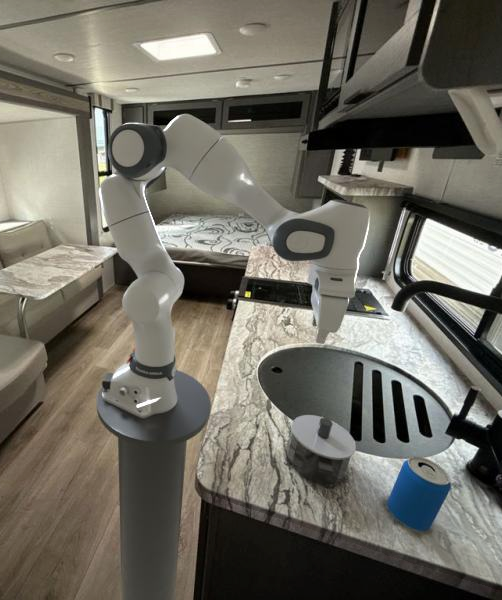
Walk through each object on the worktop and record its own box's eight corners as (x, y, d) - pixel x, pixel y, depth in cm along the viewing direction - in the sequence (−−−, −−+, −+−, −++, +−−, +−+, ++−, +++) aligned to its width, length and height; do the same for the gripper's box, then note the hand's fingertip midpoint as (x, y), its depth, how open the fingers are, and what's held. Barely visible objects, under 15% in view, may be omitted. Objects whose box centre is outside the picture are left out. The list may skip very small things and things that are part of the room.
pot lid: (292, 450, 64) (296, 433, 62) (290, 413, 75) (293, 397, 73) (360, 470, 60) (367, 452, 58) (348, 427, 70) (353, 411, 69)
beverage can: (422, 507, 60) (444, 461, 56) (435, 540, 54) (461, 492, 50) (382, 494, 62) (400, 449, 58) (391, 524, 57) (412, 477, 53)
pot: (288, 484, 64) (294, 457, 62) (285, 428, 79) (291, 405, 76) (352, 505, 60) (362, 477, 58) (337, 442, 75) (344, 418, 72)
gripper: (311, 265, 78) (300, 315, 83) (320, 288, 60) (305, 350, 65) (340, 268, 76) (327, 319, 81) (357, 293, 58) (339, 356, 63)
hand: (317, 333), depth 73 cm, fingers open, 8 cm apart
